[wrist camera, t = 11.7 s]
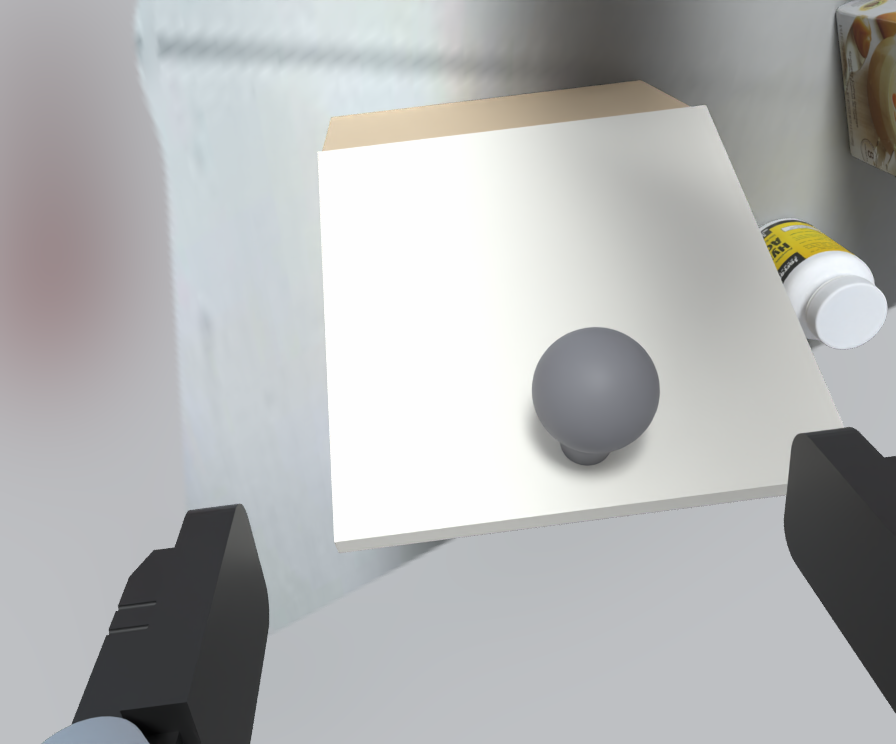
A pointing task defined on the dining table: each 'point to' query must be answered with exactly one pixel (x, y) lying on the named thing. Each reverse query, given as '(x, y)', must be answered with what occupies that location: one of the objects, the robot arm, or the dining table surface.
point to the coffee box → (870, 79)
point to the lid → (553, 331)
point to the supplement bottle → (825, 284)
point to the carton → (496, 114)
